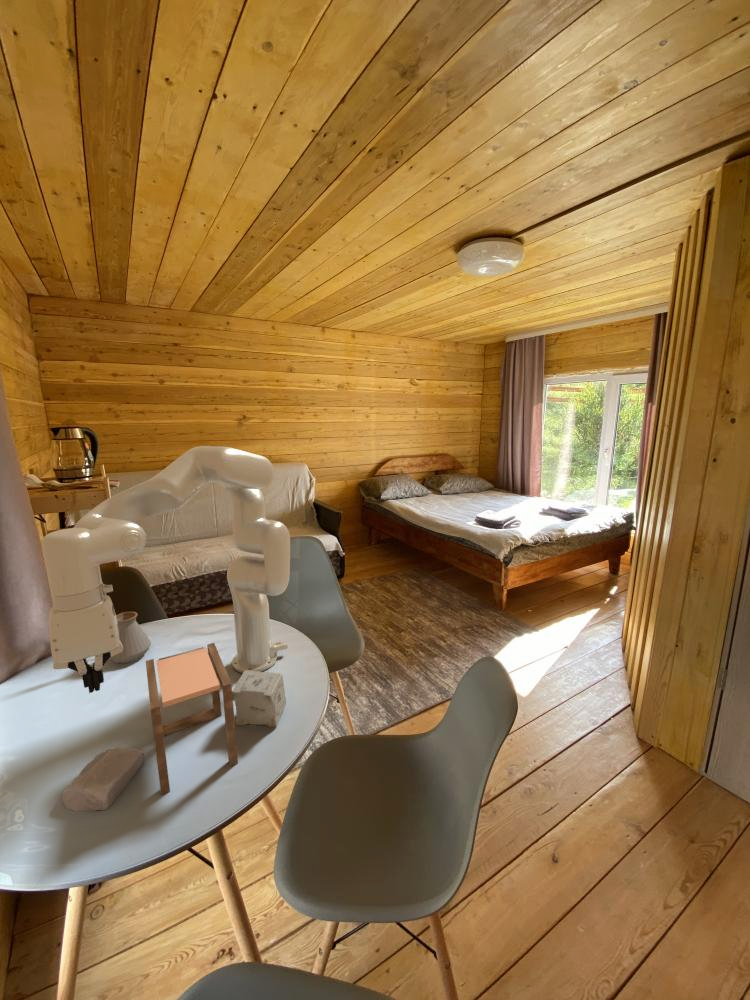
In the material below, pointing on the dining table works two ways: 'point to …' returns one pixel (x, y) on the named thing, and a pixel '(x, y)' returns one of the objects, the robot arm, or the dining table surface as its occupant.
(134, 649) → the coffee pot
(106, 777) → the stone block
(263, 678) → the white speckled block
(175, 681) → the trapdoor
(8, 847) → the dining table surface
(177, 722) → the stand
